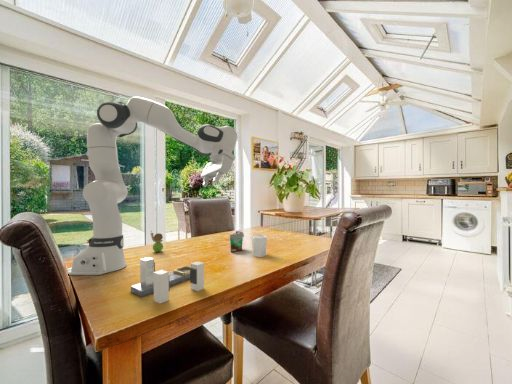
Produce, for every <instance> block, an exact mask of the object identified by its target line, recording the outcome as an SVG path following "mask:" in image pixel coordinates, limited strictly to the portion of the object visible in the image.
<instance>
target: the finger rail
mask: <svg viewBox="0 0 512 384" xmlns="http://www.w3.org/2000/svg"><path fill="white" fill-rule="evenodd" d="M139 261H140V262H139V263H140V266H139V267H140V268H139V269H140V270H139V271H140V276H139V277H140V279H139V280H140V281H139V283H136V284H132V285H131V286H130V293H132V294H134V295H136V296H139V297H140V298H144V297H147V296H149V295H151V294H154V272H156V262H155V258H153V257H151V256H148V257H144V258H140V259H139ZM190 268H191V265H183V266H181V267H177V268H174V269H173V270H172V272H169V288H170V287H172V286H175V285H178V284H180V283H183V282H185V281H188V280H190Z"/></svg>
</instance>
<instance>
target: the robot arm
mask: <svg viewBox="0 0 512 384" xmlns="http://www.w3.org/2000/svg"><path fill="white" fill-rule="evenodd" d="M96 116H97V119H98V120H99V123H98V122H97V123H92V124H90V125H89V126H88V128H87V132H86V133H87V134H86V148H87V149H86V150H87V156H88V157H87V158H88V165H89V168H90V170H91V172H92V173H93V175H94V178H95V180H93V181H91V182H89V183H87V184H86V185H85V186H84V187H83V190H82V196H83V197H82V198H83V199H84V200H85V202H86V203H87V204H88V206H89V207H88V208H89V210H90V213H91V217H92V237H91V238H89V239H87V240H86V244H88V246H86V248H84V249H83V250H81V251H80V252H79V253H77V255H75V256H74V257H73V259H72V263H71V266H70V267H69V268H67V269H66V270H68V274H69V276H70V275H72V276H99V275H104V274H106V273H112V272H115V271H119V270H121V269H124V268H125V267H127V261H126V258H125V254H124V245H125V241H124V239H125V238H124V234H123V217H122V215H121V214H120V210H119V207H118V204H120V203H122V202H123V201H124V200H126V198H127V197H128V194H129V191H128V187H127V186H126V185H125V181H124V179H123V175H122V172H121V169H120V164H119V157H118V155H119V154H118V147H117V138H123V137H125V136H130V135H132V134H134V133H135V132H136V131H137V130H138V123H141V124H145V125H147V126H149V127H152V128H153V129H156V130H158V131H159V132H162V133H163V134H166V135H167V136H169V137H170V138H172V139H174V140H176V141H178V142H180V143H182V144H185V146H188V147H190V148H192V149H194V150H195V151H196V152H197V153H198V154H199V155H201V156H203V157H209V160H210V162H208V163H207V164H206V165H205V166H204V168H203V170H202V172H201V174H200V178H201V179H203V182H202V186H203V187H204V188H206V187H208V185H209V181H210V180H211V179H213V180H212V184H213V183H214V184H218V183H219V182H220V179H221V178H222V176H223V175H225V174H228V173H229V171H230V170H231V168H232V165H233V163H234V161H235V160H236V156H235V155H234V154H233V151H234V149H235V147H236V144H237V140H238V133H237V131H236V130H235V128H234V127H232V126H230V125H224V126H216V125H212V124H211V123H209V124H207V123H205V124H202V125H201V126H199V128H198V129H197V135H195V134H194V133H193V132H190V131H188V130H186V129H184V128H183V127H182V126H181V125H180V124H179V122H178V120H177V118H176V116H175V114H174V113H173V111H172V110H171V109H170V108H169V107H167V106H166V105H164V104H162V103H160V102H157V101H154V100H152V99H149V98H146V97H141V96H132V97H130V98H129V100H128V101H127V103H125V102H123V101H109V102H102V104H100V105H99V106H98V107H97V110H96Z"/></svg>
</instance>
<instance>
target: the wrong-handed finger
mask: <svg viewBox="0 0 512 384" xmlns="http://www.w3.org/2000/svg"><path fill="white" fill-rule="evenodd" d="M169 273H170V271H168V270H164V269H159V270H157V271H156V270H155V272H154V293H153V301H154V302H155V303H158V304H161V305H162V304H163V303H165V302H168V301H169V300H170V291H171V290H170V287H169Z"/></svg>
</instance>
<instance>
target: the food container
mask: <svg viewBox="0 0 512 384" xmlns="http://www.w3.org/2000/svg"><path fill="white" fill-rule="evenodd" d="M244 237H245V234H244V233H243V231H239V230H236V231H235V232H234V233H233V234H229V239H230V253H239V252H241V251H243V241H244Z"/></svg>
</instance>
